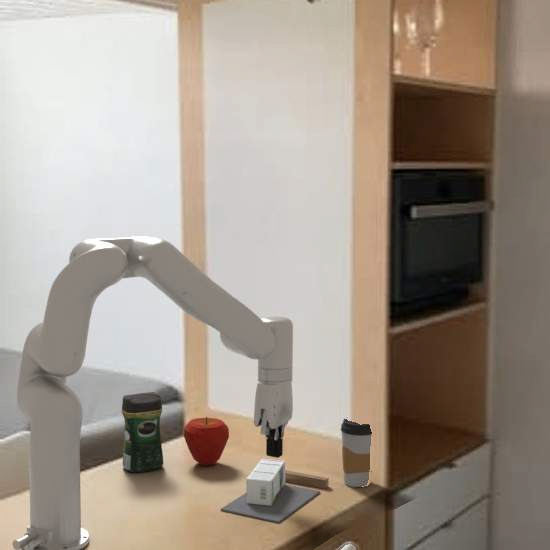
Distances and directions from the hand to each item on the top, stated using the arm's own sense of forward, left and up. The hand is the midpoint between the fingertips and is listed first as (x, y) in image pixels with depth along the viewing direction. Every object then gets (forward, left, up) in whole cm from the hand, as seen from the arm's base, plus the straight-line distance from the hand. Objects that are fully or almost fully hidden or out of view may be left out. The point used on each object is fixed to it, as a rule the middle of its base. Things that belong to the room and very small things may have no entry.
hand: (274, 455), depth 193 cm
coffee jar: (+3, +38, -10) cm, 39 cm away
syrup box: (-6, +1, -7) cm, 9 cm away
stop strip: (+13, 0, -10) cm, 16 cm away
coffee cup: (+19, -12, -10) cm, 25 cm away
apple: (+13, +26, -10) cm, 31 cm away
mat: (-1, 0, -10) cm, 10 cm away
